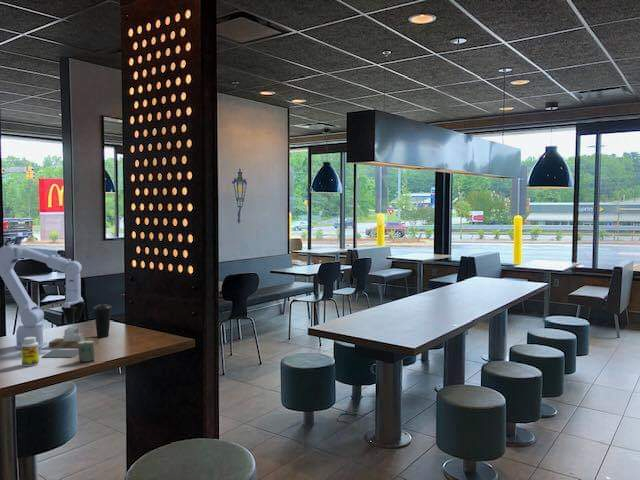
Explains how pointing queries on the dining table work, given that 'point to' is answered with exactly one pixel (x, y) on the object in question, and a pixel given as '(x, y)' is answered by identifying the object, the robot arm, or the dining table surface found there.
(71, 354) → the mat
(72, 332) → the grey stepped block
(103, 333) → the drinking cup
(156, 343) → the dining table surface
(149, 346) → the dining table surface
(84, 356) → the small box
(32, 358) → the supplement bottle
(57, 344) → the body
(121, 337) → the dining table surface
